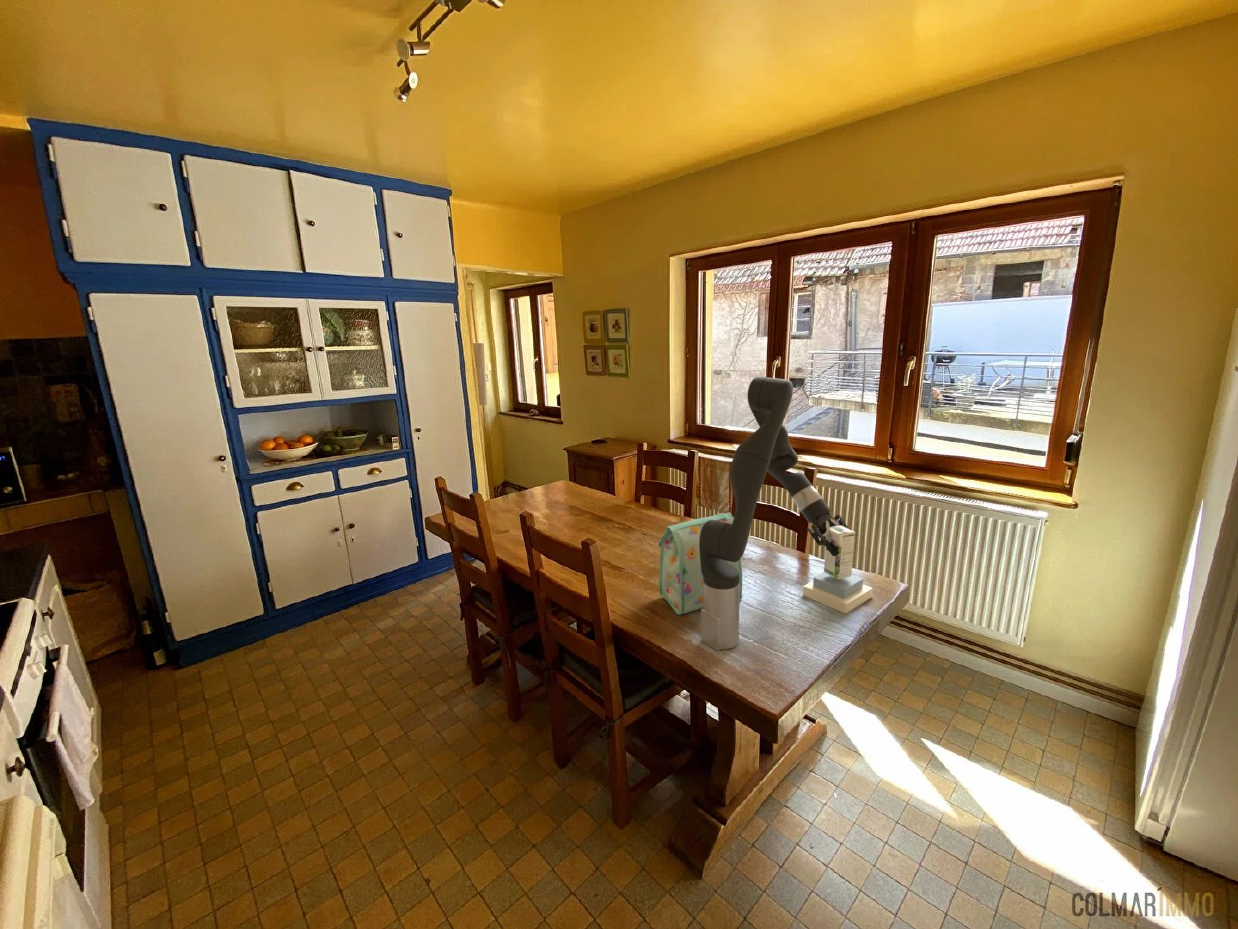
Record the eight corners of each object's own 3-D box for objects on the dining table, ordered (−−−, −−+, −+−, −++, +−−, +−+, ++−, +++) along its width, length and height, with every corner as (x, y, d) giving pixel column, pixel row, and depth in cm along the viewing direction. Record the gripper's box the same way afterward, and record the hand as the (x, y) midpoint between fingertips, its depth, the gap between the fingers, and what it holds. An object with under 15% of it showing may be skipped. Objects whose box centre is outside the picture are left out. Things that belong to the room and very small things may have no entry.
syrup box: (822, 572, 153) (825, 527, 150) (839, 568, 155) (841, 524, 151) (836, 580, 148) (839, 534, 144) (852, 576, 150) (856, 531, 146)
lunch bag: (718, 579, 167) (717, 502, 161) (747, 602, 153) (748, 518, 146) (655, 595, 160) (652, 515, 153) (680, 621, 145) (677, 533, 138)
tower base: (845, 613, 144) (847, 594, 142) (802, 594, 155) (803, 577, 153) (871, 597, 152) (873, 579, 150) (829, 580, 163) (830, 563, 161)
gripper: (804, 503, 148) (839, 552, 141) (833, 492, 156) (866, 539, 149) (788, 515, 153) (821, 563, 147) (816, 505, 161) (848, 550, 155)
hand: (844, 551), depth 148 cm, fingers closed on syrup box, 7 cm apart
